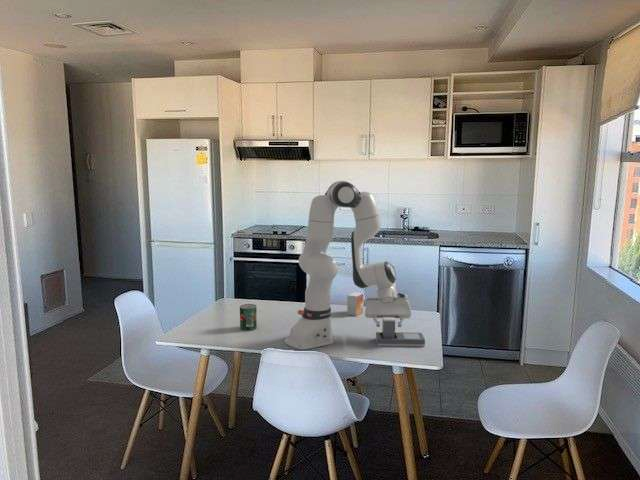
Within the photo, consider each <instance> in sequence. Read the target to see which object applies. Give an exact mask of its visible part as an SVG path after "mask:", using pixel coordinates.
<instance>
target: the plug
mask: <svg viewBox="0 0 640 480" xmlns="http://www.w3.org/2000/svg"><path fill="white" fill-rule="evenodd" d="M381 319H382V324H381V330H382V338H391V339H395V330H396V318H395V317H394V316H383V318H381Z"/></svg>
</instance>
